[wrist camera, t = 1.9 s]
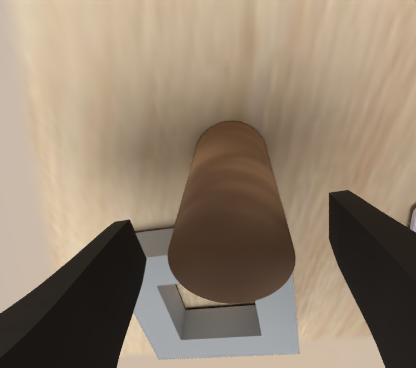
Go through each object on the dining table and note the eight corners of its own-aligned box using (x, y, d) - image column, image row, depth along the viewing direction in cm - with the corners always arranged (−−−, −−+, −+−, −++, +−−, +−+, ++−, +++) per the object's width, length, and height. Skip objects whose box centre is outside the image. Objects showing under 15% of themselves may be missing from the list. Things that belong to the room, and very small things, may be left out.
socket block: (282, 214, 17) (289, 241, 15) (293, 322, 23) (299, 353, 21) (120, 234, 19) (106, 261, 17) (165, 330, 25) (158, 359, 22)
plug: (262, 114, 14) (290, 202, 8) (270, 181, 16) (298, 298, 9) (187, 128, 15) (151, 220, 8) (203, 190, 17) (185, 307, 10)
